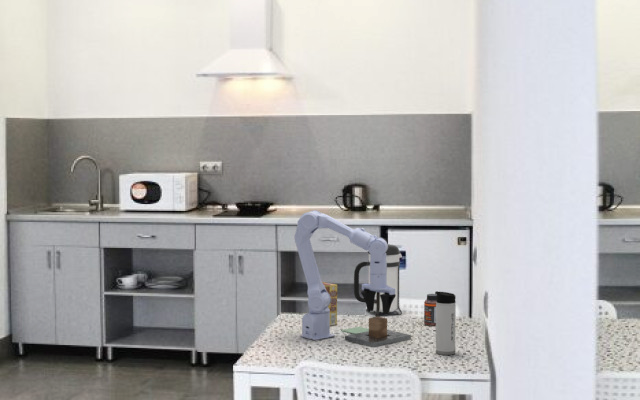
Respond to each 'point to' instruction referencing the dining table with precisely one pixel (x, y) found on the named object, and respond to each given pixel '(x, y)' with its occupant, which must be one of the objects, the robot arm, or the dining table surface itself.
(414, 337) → the dining table surface
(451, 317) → the travel mug
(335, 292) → the candy box
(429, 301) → the supplement bottle
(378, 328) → the plug
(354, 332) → the pad
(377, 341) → the grey plate with hole
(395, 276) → the coffee press
